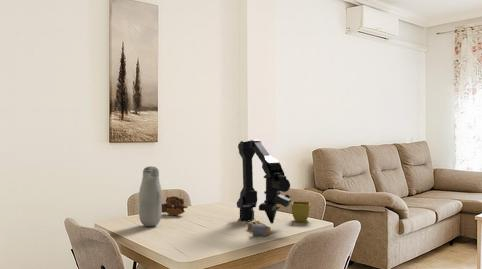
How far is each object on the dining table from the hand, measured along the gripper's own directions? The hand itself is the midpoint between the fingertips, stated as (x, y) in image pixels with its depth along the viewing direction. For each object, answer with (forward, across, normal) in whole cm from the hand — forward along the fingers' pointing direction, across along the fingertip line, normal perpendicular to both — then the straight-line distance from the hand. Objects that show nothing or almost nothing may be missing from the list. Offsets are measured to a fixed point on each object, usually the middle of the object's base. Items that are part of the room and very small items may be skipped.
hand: (271, 223), depth 185 cm
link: (+3, -6, +4) cm, 8 cm away
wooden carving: (+4, +10, +58) cm, 59 cm away
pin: (+3, -2, +6) cm, 7 cm away
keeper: (+3, -12, +2) cm, 12 cm away
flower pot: (+3, +23, -7) cm, 24 cm away
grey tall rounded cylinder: (+3, -16, +54) cm, 57 cm away
